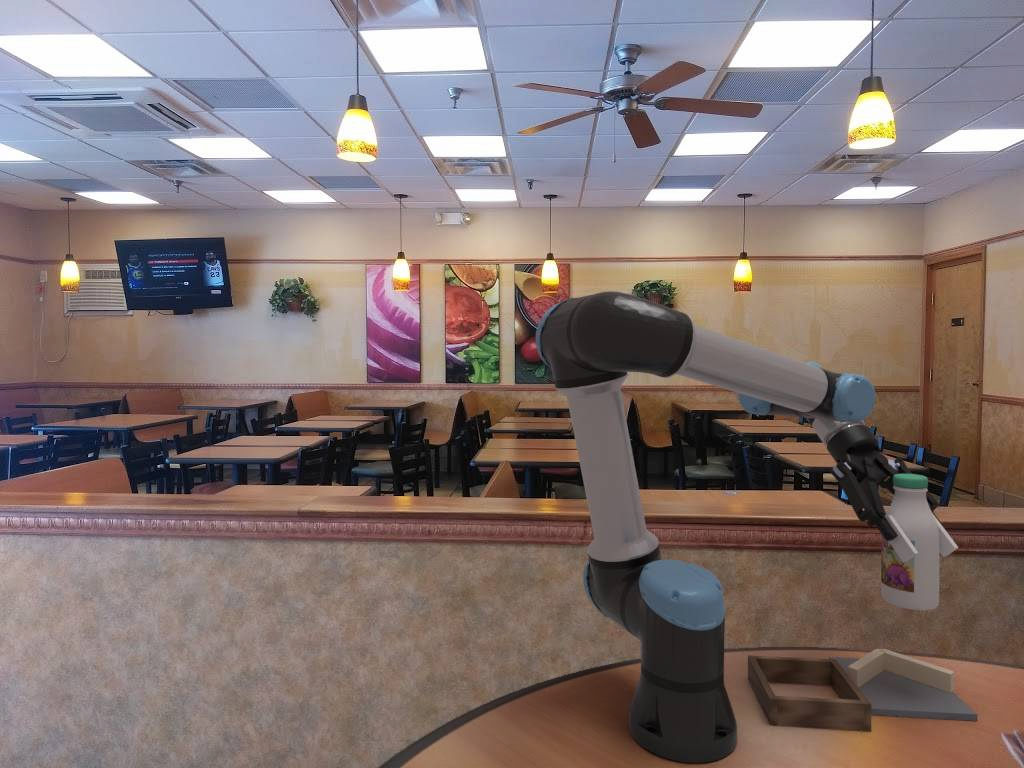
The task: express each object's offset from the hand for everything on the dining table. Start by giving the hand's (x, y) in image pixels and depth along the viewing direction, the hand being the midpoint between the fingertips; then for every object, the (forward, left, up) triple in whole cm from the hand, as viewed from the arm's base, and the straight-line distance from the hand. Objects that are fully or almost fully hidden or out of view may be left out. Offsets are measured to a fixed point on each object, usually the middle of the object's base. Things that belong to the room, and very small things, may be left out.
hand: (930, 554), depth 97 cm
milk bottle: (-1, +3, -9) cm, 9 cm away
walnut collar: (-18, 0, -24) cm, 30 cm away
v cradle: (-2, +6, -24) cm, 25 cm away
